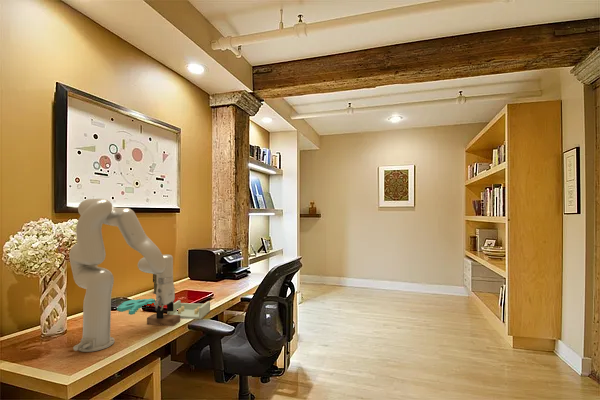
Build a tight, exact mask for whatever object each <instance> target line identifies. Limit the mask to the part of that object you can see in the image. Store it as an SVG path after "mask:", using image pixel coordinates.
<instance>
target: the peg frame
mask: <svg viewBox="0 0 600 400" xmlns="http://www.w3.org/2000/svg"><path fill="white" fill-rule="evenodd" d="M173 308H174V310H173V311H167V310H166V314H168V315H180V319H188V320H189V319H191V320H192V319H193V320H194V319H196V320H198V319H199V320H201V319H203V318H204V317H205V316H207V315H208V314H209V312H211V301H210V300H208V301H206V302H205V303H193V302H191V303H188V302H181V300H180V299H178V300H177V301H174V303H173ZM177 309H178V311H177Z"/></svg>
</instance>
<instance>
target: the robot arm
mask: <svg viewBox="0 0 600 400" xmlns="http://www.w3.org/2000/svg"><path fill="white" fill-rule="evenodd" d="M77 210H78V211H77V212H78V214H79V215H80V216H79V218H78V220H77V222H76V226H75V236H76V242H75V243H74V245H73V246H71V248H70V250H69V255H68V256H69V262H70V263H69V264H70V267H71V272H72V276H73V277H72V278H73V281H74V283H75V284H76V285H77V286H78V287H79V288H81V289H85V295H84V299H83V306H82V309H83V310H82V312H83V313H82V314H83V315H82V338H80V342H79V343H78V344H76V345H74V346H73V347H72V349H73V351H75V352H77V351H79V352H82V353H90V352H97V351H102V350H104V349H105V350H106V349H107V348H109V347H110V346H112V345H114V343H115V338H114V337H113V336H112V337H111V326H112V325H111V322H112V321H111V320H112V318H111V317H112V316H111V315H112V312H111V311H112V293H113V292H112V291H113V287H114V282H115V278H114V274H113V273H112V271H111V270H109V269H108V268H105V267H101V266H99V265H101V264H102V263H103V262H104V261H105V259H106V256H107V255H106V248H105V244H104V239H103V233H102V229H103V228H102V227H103V224H104V225H108V226H112V227H117V228H118V230H119V232H120V233H121V235H122V237H123V239H124V241H125V243H126V244H127V245H128V246H129V247H130V248H131V249H133V250H135V251H137V252H138V253H139V254H140V255H142V256H143V257H142V258H140V259H139V260H138V262H137V268H138V269H139V271H141V272H143V273H146V274H147V273H148V274H152V275H153V274H157V290H156V294H155V303H154V305H155V306H154V308H155V312H156V313H155V314H156V318H157V319H163V314H164V306H166V312H167V311H173V310H174V308H173V303H175V299H176V298H175V297H176V295H175V294H176V291H175V284H174V256H173V255H172V254H163V253H162V251H161V249H160V248H159V247H158V245H156V243H155V242H154V241H152V239H151V238H150V237H149V236H148V235H147V234H146V231H144V228H143V226H142V224H141V222H140V220H139V218H138V217H137V215H136V212H135V211H134V210H133V209H131V208H130V207H129V208H128V207H115V206H113V204H112V202H111V201H110V200H108V199H105V198H87V199H85V200H83V201H81V202H80V203H79V204H78V207H77Z"/></svg>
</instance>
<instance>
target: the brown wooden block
mask: <svg viewBox="0 0 600 400" xmlns="http://www.w3.org/2000/svg"><path fill="white" fill-rule="evenodd" d="M180 322H181V318H180V315H168V314H167V313H166V314H164V313H163V319H157V318H156V313H153V314H151V315H149V316H148V317H146V325H153V326H166V327H168V326H169V327H170V326H171V327H174V326H176V325H177V324H179V323H180Z"/></svg>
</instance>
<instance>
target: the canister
mask: <svg viewBox="0 0 600 400" xmlns="http://www.w3.org/2000/svg"><path fill="white" fill-rule="evenodd" d="M152 283H153V294H154V295H156V290H157V274H152Z"/></svg>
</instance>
